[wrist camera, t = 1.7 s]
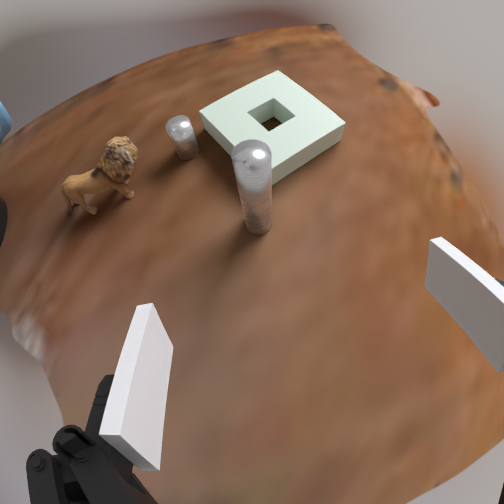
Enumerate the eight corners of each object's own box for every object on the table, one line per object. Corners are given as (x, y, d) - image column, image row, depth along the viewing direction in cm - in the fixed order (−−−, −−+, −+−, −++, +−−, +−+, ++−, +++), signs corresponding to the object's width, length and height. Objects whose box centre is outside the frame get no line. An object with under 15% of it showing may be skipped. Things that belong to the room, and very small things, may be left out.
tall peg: (240, 220, 37) (223, 152, 23) (261, 205, 37) (255, 133, 24) (256, 239, 36) (247, 178, 22) (277, 224, 36) (279, 157, 23)
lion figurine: (147, 159, 41) (124, 121, 32) (157, 186, 39) (132, 148, 30) (67, 205, 40) (33, 178, 31) (72, 234, 38) (34, 209, 29)
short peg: (173, 150, 41) (161, 124, 35) (192, 138, 41) (182, 111, 35) (184, 164, 40) (172, 138, 34) (203, 151, 40) (194, 124, 35)
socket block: (204, 128, 41) (199, 110, 38) (277, 88, 43) (277, 70, 40) (263, 191, 38) (262, 175, 34) (340, 140, 40) (345, 122, 36)
